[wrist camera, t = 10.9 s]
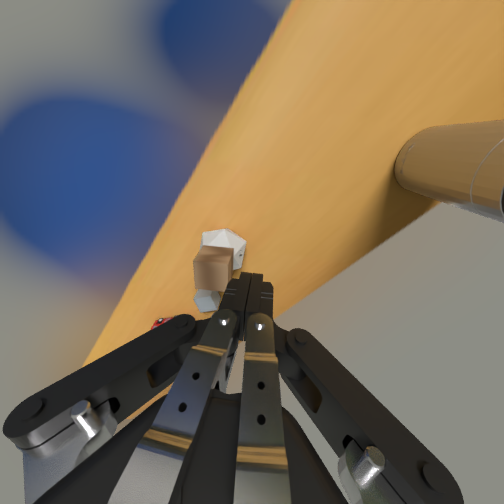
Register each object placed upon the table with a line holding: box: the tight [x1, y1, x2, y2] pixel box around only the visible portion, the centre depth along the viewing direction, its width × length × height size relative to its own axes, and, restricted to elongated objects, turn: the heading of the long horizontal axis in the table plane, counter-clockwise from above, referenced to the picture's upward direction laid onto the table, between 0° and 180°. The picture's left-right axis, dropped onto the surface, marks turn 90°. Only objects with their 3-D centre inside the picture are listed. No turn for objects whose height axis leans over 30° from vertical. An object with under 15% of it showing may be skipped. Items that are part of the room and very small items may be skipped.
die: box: [200, 228, 247, 270], centre depth 38 cm, size 8×9×10 cm
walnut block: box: [193, 245, 234, 292], centre depth 32 cm, size 5×5×5 cm
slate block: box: [194, 289, 221, 312], centre depth 46 cm, size 4×4×4 cm
